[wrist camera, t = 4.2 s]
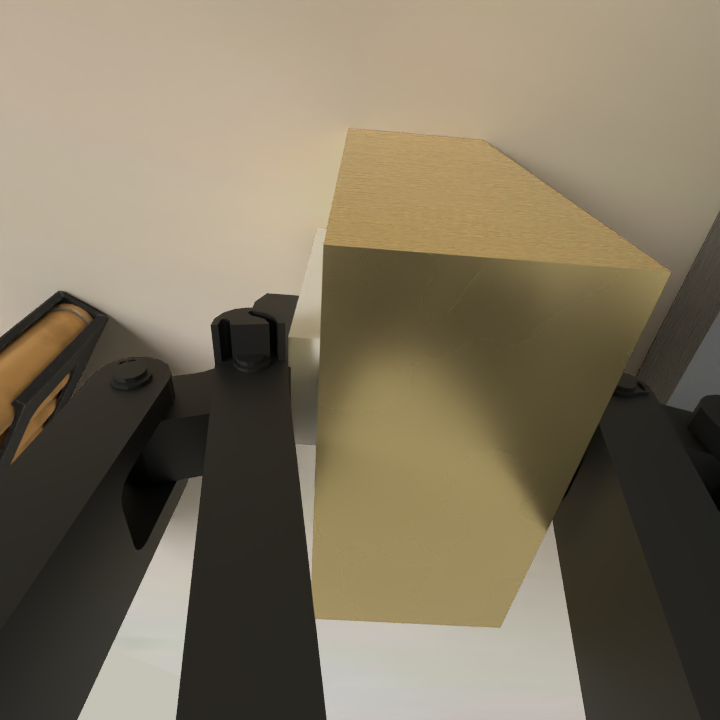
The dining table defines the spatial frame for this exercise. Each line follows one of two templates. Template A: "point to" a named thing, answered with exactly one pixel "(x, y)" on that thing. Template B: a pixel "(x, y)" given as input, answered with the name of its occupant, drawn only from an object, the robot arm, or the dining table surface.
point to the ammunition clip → (42, 368)
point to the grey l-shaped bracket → (690, 336)
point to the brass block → (457, 374)
